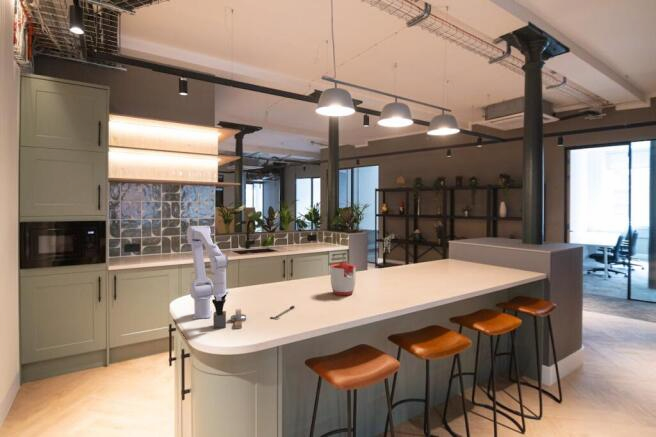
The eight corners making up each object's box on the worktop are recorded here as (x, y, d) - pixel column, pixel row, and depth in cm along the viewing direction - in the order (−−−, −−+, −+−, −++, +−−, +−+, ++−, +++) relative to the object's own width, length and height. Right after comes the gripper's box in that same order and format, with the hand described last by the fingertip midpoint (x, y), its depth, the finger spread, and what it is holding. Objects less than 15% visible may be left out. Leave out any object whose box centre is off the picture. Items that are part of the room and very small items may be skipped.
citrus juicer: (338, 298, 209) (338, 264, 208) (326, 291, 224) (326, 259, 224) (362, 295, 215) (362, 262, 214) (348, 289, 231) (348, 258, 230)
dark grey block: (214, 324, 163) (214, 311, 163) (226, 324, 164) (225, 311, 164) (213, 328, 158) (213, 315, 158) (225, 327, 159) (225, 314, 159)
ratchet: (230, 318, 173) (230, 308, 172) (245, 317, 174) (245, 307, 174) (230, 329, 158) (229, 318, 157) (246, 328, 159) (246, 317, 159)
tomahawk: (281, 322, 170) (281, 320, 169) (269, 319, 172) (269, 317, 172) (302, 309, 189) (302, 307, 189) (291, 307, 191) (291, 305, 191)
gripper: (228, 285, 154) (228, 316, 155) (229, 278, 168) (229, 307, 169) (210, 286, 153) (211, 318, 153) (213, 279, 167) (213, 308, 167)
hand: (219, 312), depth 161 cm, fingers open, 7 cm apart
